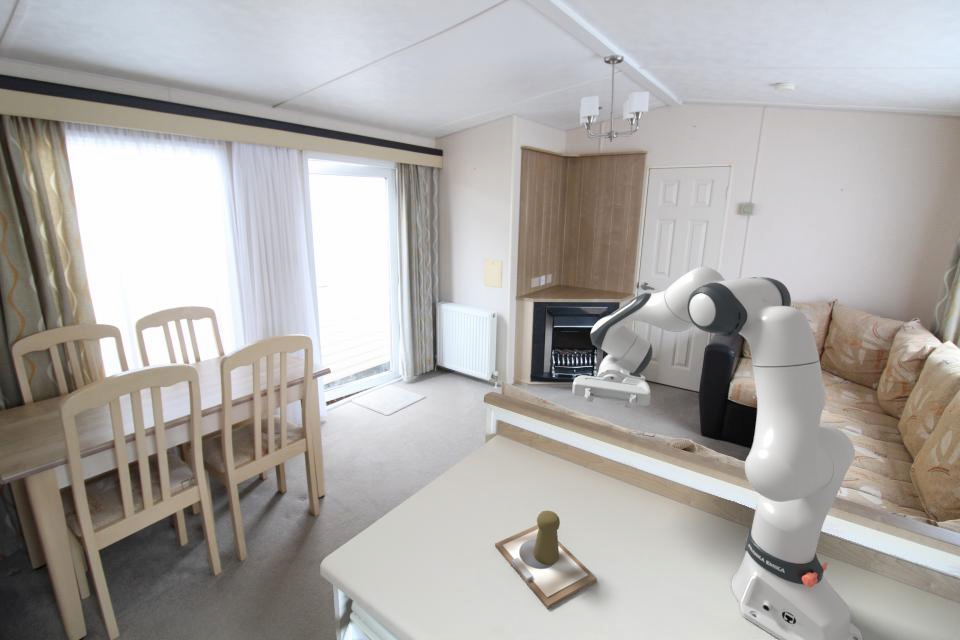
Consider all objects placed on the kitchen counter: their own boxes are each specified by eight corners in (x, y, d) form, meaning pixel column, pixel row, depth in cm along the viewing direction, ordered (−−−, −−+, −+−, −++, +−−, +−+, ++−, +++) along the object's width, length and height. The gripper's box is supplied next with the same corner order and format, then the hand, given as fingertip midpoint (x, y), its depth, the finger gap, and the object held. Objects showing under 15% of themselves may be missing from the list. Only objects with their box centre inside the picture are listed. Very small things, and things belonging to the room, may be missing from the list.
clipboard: (596, 580, 100) (596, 575, 100) (547, 608, 93) (547, 602, 93) (540, 526, 117) (540, 520, 116) (495, 546, 110) (495, 540, 109)
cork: (559, 566, 103) (562, 526, 100) (532, 562, 103) (535, 522, 100) (558, 546, 108) (561, 508, 105) (533, 543, 109) (536, 505, 106)
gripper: (576, 366, 130) (569, 384, 118) (650, 376, 124) (652, 396, 111) (574, 386, 132) (567, 406, 119) (648, 397, 126) (649, 419, 113)
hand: (608, 402), depth 115 cm, fingers open, 8 cm apart
